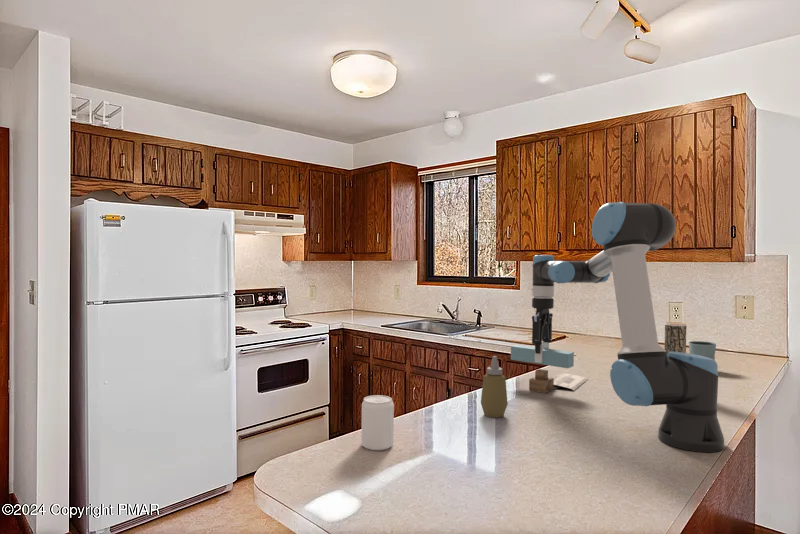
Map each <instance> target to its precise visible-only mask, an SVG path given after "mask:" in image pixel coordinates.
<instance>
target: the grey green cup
mask: <svg viewBox="0 0 800 534" xmlns="http://www.w3.org/2000/svg"><path fill="white" fill-rule="evenodd" d="M716 347H717V344H716V343H715V342H710V341H704V340H699V341H698V340H694V341H689V342H688V350H689V354H694V355H699V356H704V357H708V358H711V359H713V360H715V359H716V357H715V355H716V349H717V348H716ZM715 361H716V360H715Z"/></svg>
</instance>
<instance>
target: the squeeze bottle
mask: <svg viewBox="0 0 800 534" xmlns="http://www.w3.org/2000/svg"><path fill="white" fill-rule="evenodd" d="M506 381H507V380H506V376H505V375H503V368H502V367H500V366H499V360H498V355H493V356H492V358H491V362H490V366H487V368H486V374H484V375H483V379H482V389H481V398H480V405H481V408H482V411H483V415H484V416H486V417H489V418H502V417H504V416H505V413H506V409H507V407H508V393H507V382H506Z"/></svg>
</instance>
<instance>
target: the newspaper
mask: <svg viewBox="0 0 800 534" xmlns="http://www.w3.org/2000/svg"><path fill="white" fill-rule="evenodd" d="M553 378H554V389H556V390H557V389H559V388H560V387H562V388H566V389H568V390H571V391H572V392H575V391H577V390H578V389H579V388H580V387H581V386H582V385H583V384H585V383H586V382H587V381H588V380H589V379H588V378H587V377H584V376H580V375H576V374H572V373H571V374H570V373H560V374H555V376H554V377H553ZM554 389H553V390H554Z"/></svg>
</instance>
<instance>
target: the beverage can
mask: <svg viewBox="0 0 800 534" xmlns="http://www.w3.org/2000/svg"><path fill="white" fill-rule="evenodd" d="M394 411H395V404H394V401H393V398H392V397H390V396H387V395H385V394H384V395H381V394H377V395H376V394H373V395H368V396H365V397H363V401H362V403H361V441H360V442H361V446H362V447H364V448H366V449H367V450H370V451H384V450H387V449H390V448H391V447H392V446H393V445H394V435H395V434H394V429H395V428H394V427H395V426H394V423H395V421H394V420H395V419H394V418H395V416H394V415H395V412H394Z"/></svg>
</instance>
